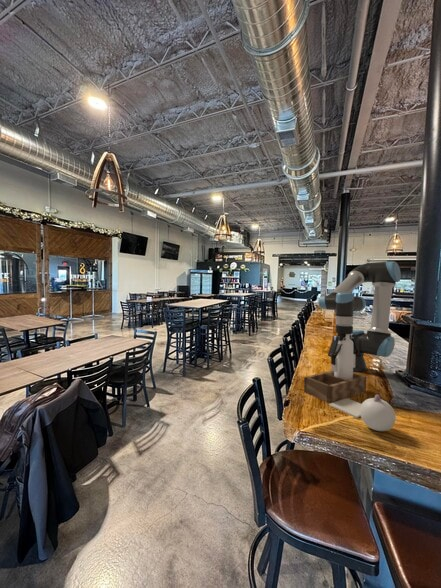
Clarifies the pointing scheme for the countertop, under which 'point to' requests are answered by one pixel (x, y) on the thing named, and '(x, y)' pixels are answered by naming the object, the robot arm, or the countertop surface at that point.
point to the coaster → (348, 407)
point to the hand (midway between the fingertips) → (343, 369)
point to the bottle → (345, 359)
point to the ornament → (377, 414)
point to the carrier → (333, 386)
